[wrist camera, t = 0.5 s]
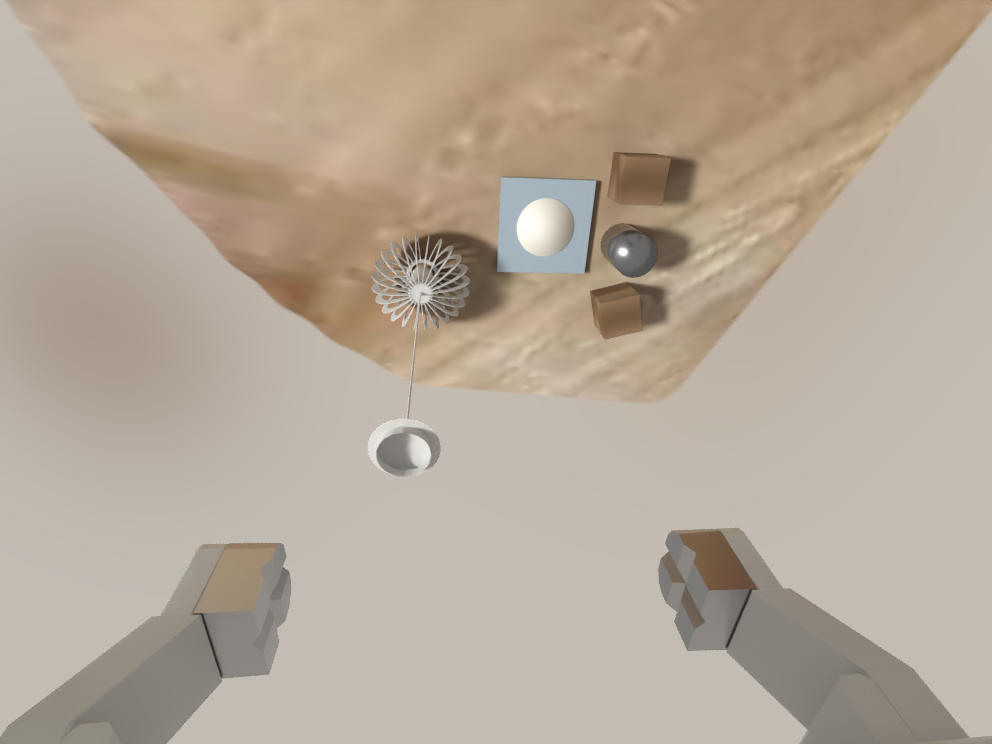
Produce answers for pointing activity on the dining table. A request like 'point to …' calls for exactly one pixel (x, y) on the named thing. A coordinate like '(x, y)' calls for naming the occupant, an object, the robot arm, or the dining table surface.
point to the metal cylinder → (629, 250)
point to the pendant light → (407, 440)
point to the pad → (544, 224)
